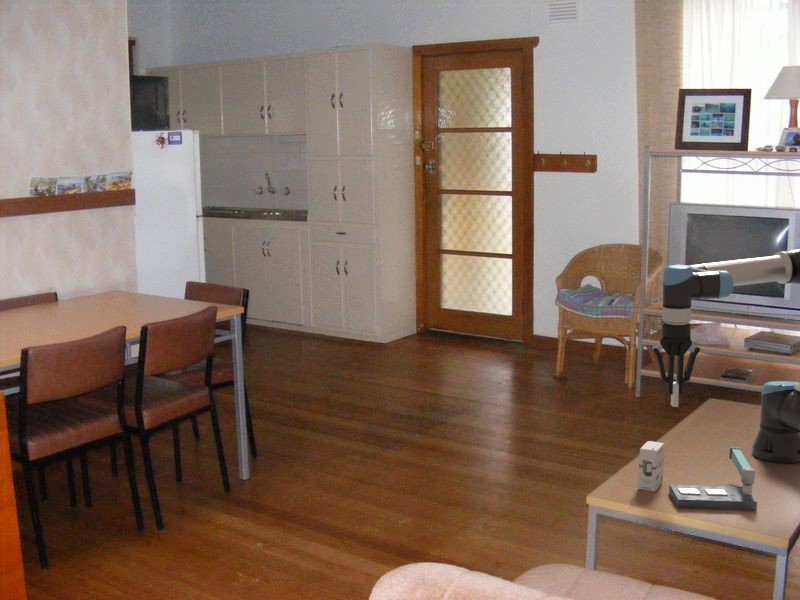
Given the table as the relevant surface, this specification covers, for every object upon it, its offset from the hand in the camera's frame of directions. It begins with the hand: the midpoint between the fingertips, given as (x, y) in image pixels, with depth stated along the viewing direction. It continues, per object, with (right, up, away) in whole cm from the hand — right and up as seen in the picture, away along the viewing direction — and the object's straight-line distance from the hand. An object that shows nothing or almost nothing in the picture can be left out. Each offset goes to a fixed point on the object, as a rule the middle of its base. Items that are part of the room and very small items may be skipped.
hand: (674, 405), depth 262 cm
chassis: (+7, -24, -12) cm, 28 cm away
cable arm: (+17, -17, -4) cm, 25 cm away
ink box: (-7, -23, 0) cm, 24 cm away
